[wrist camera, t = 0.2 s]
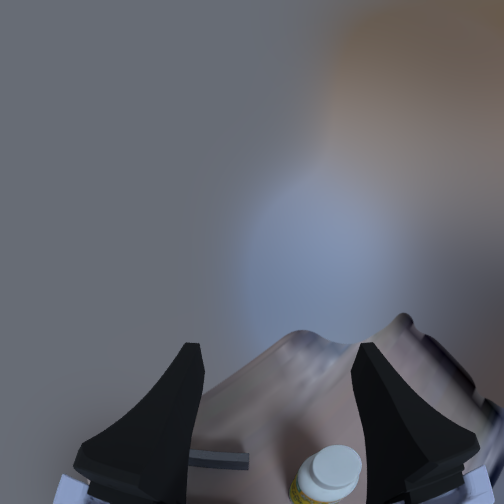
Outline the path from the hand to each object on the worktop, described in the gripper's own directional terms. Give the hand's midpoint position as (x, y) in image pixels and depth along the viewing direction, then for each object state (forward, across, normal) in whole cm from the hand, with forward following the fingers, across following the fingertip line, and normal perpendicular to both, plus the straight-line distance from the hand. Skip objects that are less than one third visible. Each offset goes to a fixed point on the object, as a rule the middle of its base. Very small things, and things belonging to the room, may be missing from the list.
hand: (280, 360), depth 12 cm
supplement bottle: (-2, -5, +22) cm, 22 cm away
